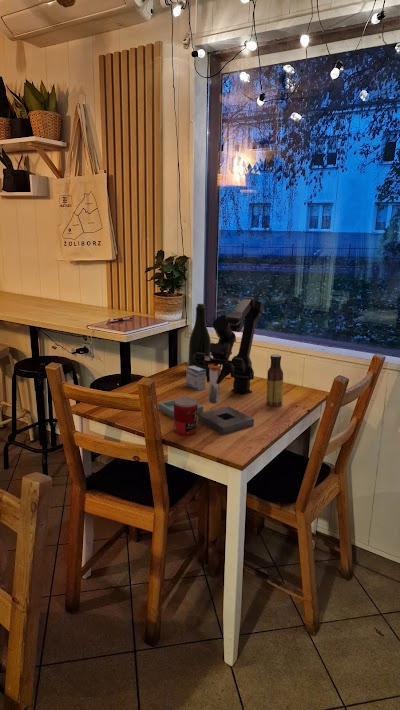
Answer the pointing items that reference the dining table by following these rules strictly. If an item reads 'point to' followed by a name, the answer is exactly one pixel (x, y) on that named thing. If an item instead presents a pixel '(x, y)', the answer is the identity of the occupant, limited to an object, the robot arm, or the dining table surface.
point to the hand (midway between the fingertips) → (212, 382)
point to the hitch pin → (214, 382)
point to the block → (219, 422)
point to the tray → (169, 408)
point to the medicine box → (196, 377)
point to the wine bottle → (199, 337)
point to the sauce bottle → (275, 382)
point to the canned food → (185, 416)
